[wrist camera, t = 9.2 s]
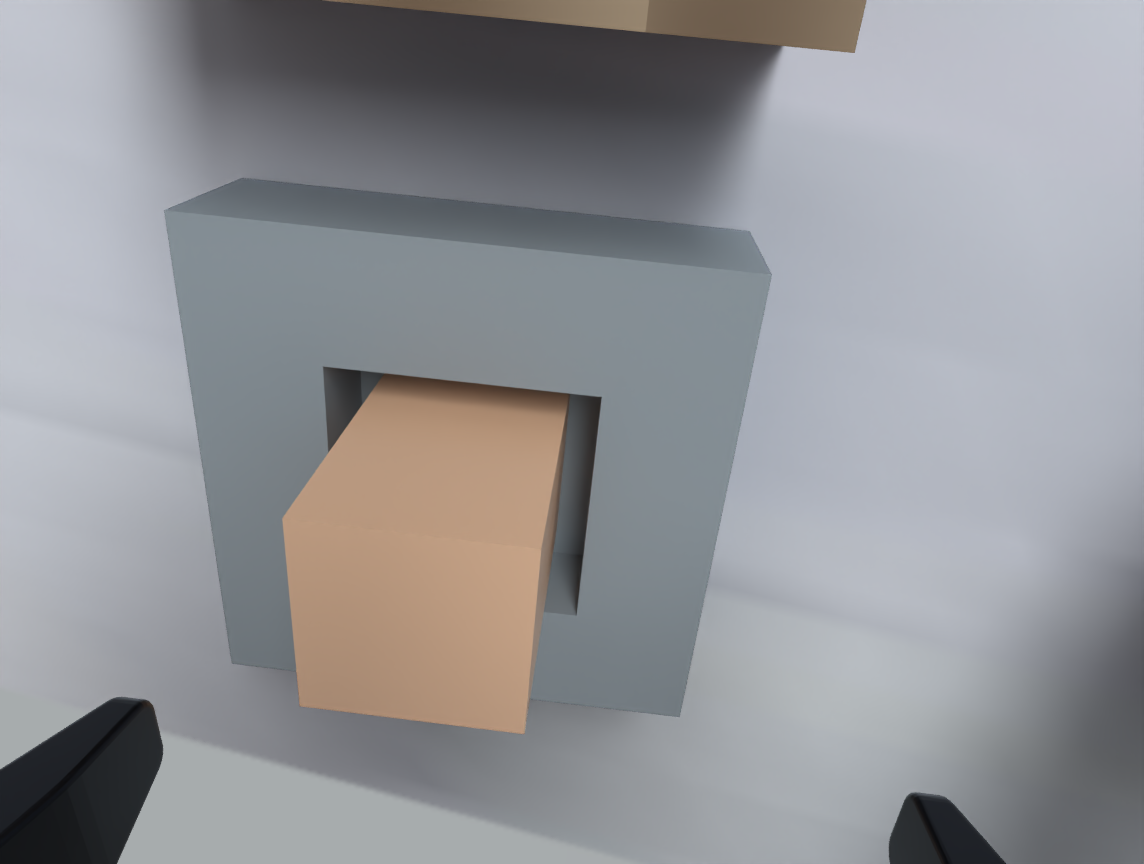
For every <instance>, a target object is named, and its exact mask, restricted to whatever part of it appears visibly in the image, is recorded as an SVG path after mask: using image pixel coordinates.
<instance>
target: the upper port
mask: <svg viewBox="0 0 1144 864" xmlns="http://www.w3.org/2000/svg"><path fill="white" fill-rule="evenodd" d="M324 1H334V2H344V3H354V4H365V5H375V6H385V7H395V8H405V9H415V10H425V11H435V12H446V13H456V14H466V15H476V16H486V17H496V18H506V19H516V20H527V21H537V22H547V23H557V24H567V25H577V26H587V27H597V28H607V29H618V30H628V31H638V32H648V33H658V34H668V35H678V36H688V37H699V38H709V39H719V40H729V41H739V42H749V43H759V44H769V45H780V46H790V47H800V48H810V49H820V50H830V51H840V52H850V53H855V48H856V44H857V40H858V35H859V31H860V26H861V22H862V18H863V13H864V9H865V5H866V0H324Z"/></svg>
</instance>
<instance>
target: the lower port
mask: <svg viewBox="0 0 1144 864" xmlns="http://www.w3.org/2000/svg"><path fill="white" fill-rule="evenodd" d="M164 213H165V220H166V226H167V233H168V240H169V246H170V253H171V260H172V266H173V273H174V280H175V287H176V293H177V300H178V307H179V313H180V320H181V327H182V333H183V340H184V347H185V353H186V360H187V367H188V374H189V380H190V387H191V394H192V400H193V407H194V414H195V420H196V427H197V434H198V440H199V447H200V454H201V461H202V467H203V474H204V481H205V487H206V494H207V501H208V507H209V514H210V521H211V527H212V534H213V541H214V547H215V554H216V561H217V568H218V574H219V581H220V588H221V594H222V601H223V608H224V614H225V621H226V628H227V634H228V641H229V648H230V655H231V661H232V664H239V665H247V666H256V667H264V668H272V669H281V670H289V671H296V661H295V651H294V640H293V629H292V618H291V607H290V597H289V586H288V575H287V564H286V553H285V543H284V532H283V521H282V518H283V517H284V515H285V514H286V512H287V511H288V509H289V508H290V507H291V505H292V504H293V502H294V501H295V499H296V498H297V497H298V495H299V494H300V492H301V491H302V490H303V488H304V487H305V485H306V484H307V482H308V481H309V480H310V478H311V477H312V475H313V474H314V473H315V471H316V470H317V468H318V467H319V465H320V464H321V463H322V461H323V460H324V458H325V457H326V456H327V454H328V453H329V451H330V450H331V448H332V447H333V446H334V444H335V443H336V441H337V440H338V439H339V437H340V436H341V434H342V433H343V431H344V430H345V429H346V427H347V426H348V424H349V423H350V422H351V420H352V419H353V417H354V416H355V414H356V413H357V412H358V410H359V409H360V407H361V406H362V405H363V403H364V402H365V400H366V399H367V397H368V396H369V395H370V393H371V392H372V390H373V389H374V387H375V386H376V385H377V383H378V382H379V380H380V379H381V378H382V376H383V375H384V373H387V374H396V375H405V376H414V377H423V378H432V379H441V380H450V381H460V382H469V383H478V384H487V385H496V386H505V387H514V388H523V389H532V390H541V391H550V392H560V393H569V394H570V403H569V413H568V423H567V433H566V443H565V453H564V463H563V473H562V482H561V492H560V502H559V512H558V522H557V531H556V537H555V543H554V550H553V556H552V562H551V569H550V575H549V581H548V588H547V594H546V600H545V607H544V613H543V619H542V626H541V632H540V638H539V645H538V651H537V657H536V664H535V670H534V677H533V683H532V689H531V696H530V699H532V700H540V701H549V702H557V703H565V704H574V705H582V706H591V707H599V708H607V709H616V710H624V711H632V712H641V713H649V714H658V715H666V716H674V717H680V713H681V708H682V703H683V698H684V693H685V689H686V684H687V679H688V674H689V669H690V665H691V660H692V655H693V650H694V645H695V641H696V636H697V631H698V626H699V621H700V617H701V612H702V607H703V602H704V598H705V593H706V588H707V583H708V578H709V574H710V569H711V564H712V559H713V554H714V550H715V545H716V540H717V535H718V530H719V526H720V521H721V516H722V511H723V506H724V502H725V497H726V492H727V487H728V482H729V478H730V473H731V468H732V463H733V459H734V454H735V449H736V444H737V439H738V435H739V430H740V425H741V420H742V415H743V411H744V406H745V401H746V396H747V391H748V387H749V382H750V377H751V372H752V367H753V363H754V358H755V353H756V348H757V344H758V339H759V334H760V329H761V324H762V320H763V315H764V310H765V305H766V300H767V296H768V291H769V286H770V281H771V276H772V274H771V272H770V270H769V268H768V266H767V264H766V262H765V260H764V258H763V256H762V254H761V252H760V251H759V249H758V247H757V245H756V243H755V241H754V239H753V237H752V235H751V233H750V231H742V230H732V229H723V228H713V227H704V226H694V225H684V224H675V223H665V222H656V221H646V220H637V219H627V218H618V217H608V216H598V215H589V214H579V213H570V212H560V211H551V210H541V209H531V208H522V207H512V206H503V205H493V204H484V203H474V202H464V201H455V200H445V199H436V198H426V197H417V196H407V195H397V194H388V193H378V192H369V191H359V190H350V189H340V188H330V187H321V186H311V185H302V184H292V183H283V182H273V181H263V180H254V179H244V178H241V179H239V180H236V181H234V182H231V183H229V184H227V185H224V186H222V187H219V188H217V189H214V190H212V191H210V192H207V193H205V194H202V195H200V196H198V197H195V198H193V199H190V200H188V201H186V202H183V203H181V204H178V205H176V206H173V207H171V208H169V209H166V210H164Z"/></svg>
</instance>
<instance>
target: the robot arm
mask: <svg viewBox="0 0 1144 864" xmlns="http://www.w3.org/2000/svg"><path fill="white" fill-rule="evenodd" d="M162 756H163V744H162V740H161V736H160V731H159V727H158V723H157V719H156V715H155V710H154V707H153V705H152V704H151V703H150V702H149V701H147V700H144V699H136V698H127V697H116V698H113V699H111V700H109V701H107V702H105V703H104V704H102V705H101V706H99V707H97V708H96V709H94V710H93V711H91V712H90V713H88V714H86V715H85V716H83V717H82V718H80V719H79V720H77V721H75V722H74V723H72V724H71V725H69V726H68V727H66V728H64V729H63V730H61V731H60V732H58V733H57V734H55V735H53V736H52V737H50V738H49V739H48V740H46V741H44V742H42V743H41V744H39V745H38V746H36V747H35V748H33V749H32V750H30V751H28V752H27V753H25V754H24V755H22V756H20V757H19V758H17V759H16V760H14V761H13V762H11V763H10V764H8V765H6V766H5V767H3V768H2V769H0V864H117V862H118V860H119V858H120V855H121V853H122V851H123V849H124V847H125V844H126V842H127V840H128V838H129V835H130V833H131V831H132V828H133V826H134V824H135V822H136V820H137V817H138V815H139V813H140V811H141V808H142V806H143V804H144V802H145V799H146V797H147V795H148V793H149V790H150V788H151V786H152V784H153V781H154V779H155V777H156V774H157V772H158V770H159V767H160V764H161V761H162ZM889 860H890V864H1006V863H1005V862H1004V861H1003V859H1002V858H1001V857H1000V856H999V855H998V854H997V853H996V852H995V850H994V849H993V848H992V847H991V846H990V845H989V844H988V842H987V841H986V840H985V839H984V838H983V837H982V836H981V835H980V833H979V832H978V831H977V830H976V829H975V828H974V827H973V825H972V824H971V823H970V822H969V821H968V820H967V819H966V817H965V816H964V815H963V814H962V813H961V812H960V811H959V810H958V808H957V807H956V806H955V805H954V804H953V803H952V802H951V801H950V800H948V799H947V798H946V797H944V796H940V795H933V794H924V793H916V792H915V793H911V794H909V795H908V796H907V797H906V799H905V800H904V803H903V805H902V808H901V811H900V813H899V816H898V818H897V821H896V823H895V826H894V828H893V831H892V833H891V836H890V841H889Z"/></svg>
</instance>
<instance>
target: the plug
mask: <svg viewBox="0 0 1144 864" xmlns="http://www.w3.org/2000/svg"><path fill="white" fill-rule="evenodd" d="M569 403H570V394H569V393H560V392H550V391H541V390H532V389H523V388H514V387H505V386H496V385H487V384H478V383H469V382H460V381H450V380H441V379H432V378H423V377H414V376H405V375H396V374H387V373H384V375H383V376H382V378H381V379H380V380H379V382H378V383H377V385H376V386H375V387H374V389H373V390H372V392H371V393H370V395H369V396H368V397H367V399H366V400H365V402H364V403H363V405H362V406H361V407H360V409H359V410H358V412H357V413H356V414H355V416H354V417H353V419H352V420H351V422H350V423H349V424H348V426H347V427H346V429H345V430H344V431H343V433H342V434H341V436H340V437H339V439H338V440H337V441H336V443H335V444H334V446H333V447H332V448H331V450H330V451H329V453H328V454H327V456H326V457H325V458H324V460H323V461H322V463H321V464H320V465H319V467H318V468H317V470H316V471H315V473H314V474H313V475H312V477H311V478H310V480H309V481H308V482H307V484H306V485H305V487H304V488H303V490H302V491H301V492H300V494H299V495H298V497H297V498H296V499H295V501H294V502H293V504H292V505H291V507H290V508H289V509H288V511H287V512H286V514H285V515H284V517H283V518H282V521H283V532H284V543H285V553H286V564H287V575H288V586H289V597H290V607H291V618H292V629H293V640H294V651H295V661H296V672H297V683H298V694H299V705H300V706H302V707H310V708H318V709H326V710H334V711H342V712H350V713H358V714H366V715H374V716H382V717H390V718H398V719H406V720H414V721H422V722H430V723H438V724H446V725H454V726H462V727H470V728H479V729H487V730H495V731H503V732H511V733H519V734H525V727H526V721H527V715H528V708H529V702H530V696H531V689H532V683H533V677H534V670H535V664H536V657H537V651H538V645H539V638H540V632H541V626H542V619H543V613H544V607H545V600H546V594H547V588H548V581H549V575H550V569H551V562H552V556H553V550H554V543H555V537H556V531H557V522H558V512H559V502H560V492H561V482H562V473H563V463H564V453H565V443H566V433H567V423H568V413H569Z"/></svg>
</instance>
